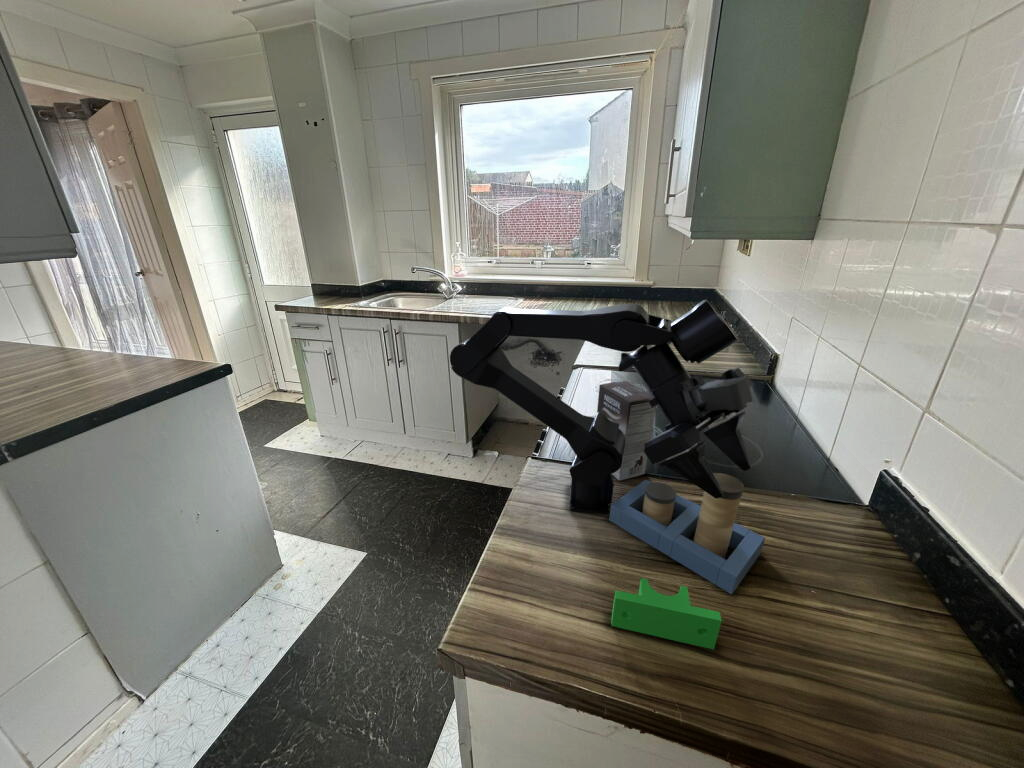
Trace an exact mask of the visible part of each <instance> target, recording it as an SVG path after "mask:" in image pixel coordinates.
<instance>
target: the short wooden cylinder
mask: <svg viewBox="0 0 1024 768" xmlns="http://www.w3.org/2000/svg"><path fill="white" fill-rule="evenodd" d="M676 494H677V492H676V489H674V487H672V486H670V485H669V484H667V483H663V482H659V481H656V482H655V481H654V482H652V483H649V484H648V485H647V486H646V488H645V497H644V503H643V508H642V509H641V513H643V514H645V515H646V516H648V517H650V518H652V519H654V520H655V521H657V522H659V523H661V524H663V525H664V526H666V527H668V526H669V525H670V524H671V523H672V518H673V517H672V513H673V508H674V503H675V499H676Z"/></svg>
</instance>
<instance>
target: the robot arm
mask: <svg viewBox="0 0 1024 768" xmlns="http://www.w3.org/2000/svg"><path fill="white" fill-rule="evenodd" d="M510 337H521V338H522V337H523V338H524V337H526V338H540V339H541V338H543V339H561V340H576V341H577V340H580V341H584V342H589V343H591V344H593V345H596V346H598V347H600V348H605V349H610V350H613V351H618V352H621V354H620V360H619V364H618V367H617V370H618V372H627V371H630V370H631V369H633V368H634V370H635V371H636V373H637V375H638V376H639V378H640V379H641V381H642V383H643V384H644V386H645V387H646V389H647V390H648V393H649V394H651V395H652V396H653V399H652V400H650V401H648V402H649V403H650V405H651V407H654V406H656V407H657V406H658V407H659V409H660V410H661V413H662V414H663V415H664V417H665V418H666V420H667V421H668V424H666V425H665V426H664V429H665V431H663V432H661V433H658V434H657V435H656V436H654V437H651V438H650V440H649V441H648V442H646V443H645V447H644V453H645V454H646V456H647V460H648V461H649V463H650V464H651V465H655V464H658V466H659V467H661V468H663V467H666V468H668V469H670V471H672V472H674V473H676V474H678V475H680V476H681V477H683V478H685V479H686V480H687V481H689V482H690V483H692V484H693V485H695V486H696V487H698V488H699V489H701V490H702V491H703V492H704V491H705V492H707V493H708V494H710V495H711V496H712V497H714V498H716V499H717V498H720V497H722V496H723V492H722V490H721V488H720V486H719V483H718V482H717V480H716V478H715V476H714V474H713V473H714V472H713V471H712V469H711V467H710V465H709V463H708V461H707V459H706V457H705V452H706V446H707V441H706V440H703V441H702V442H700V441H701V435H700V434H701V433H700V432H702V434H703V435H704V436H706V438H707V439H709V441H710V442H712V444H713V445H715V446H716V447H717V448H718V449H719V450H720V452H722V454H724V455H725V456H726V457H727V458H728V459H729V460H730V461H731V462H733V463H734V464H735V465H736V466H737V467H738V468H740V469H741V471H744V472H747V471H749V470H750V469H752V465H751V462H750V458H749V455H748V453H747V448H746V445H745V442H744V439H743V435H742V430H741V427H742V426H741V425H742V423H743V419H744V417H745V415H746V411H745V410H744V409H745V408H747V407H748V405H747V404H748V403H752V402H754V398H753V395H752V391H751V388H752V387H753V386H754V381H753V380H751V379H750V378H749V375H748V374H745V373H744V372H743V370H741V368H739V367H734V368H730V369H729V368H728V369H726V370H725V371H723V372H722V373H721V377H720V379H715V380H713V381H707V382H706V381H704V379H703V378H702V376H701V375H698V374H694V375H692V376H691V375H690V373H689V372H688V371H687V369H686V367H685V366H684V364H683V363H682V361H681V360H680V359H679V357H678V355H680V357H681V358H682V359H683V360H684V362H686V363H688V362H690V363H691V364H694V363H697V364H699V365H700V364H701V363H703V362H705V361H706V360H708V359H709V358H712V357H713V356H715V355H716V354H718V353H721V351H724V350H725V349H727V348H728V347H731V346H732V345H733V344H735V343H736V342H737V343H738V342H739V339H738V337H737V336H736V334H735V333H734V331H733V330H732V329H731V328H730V326H729V324H728V323H727V322H726V320H725V319H724V317H723V316H722V315H721V314H718V312H717V311H716V309H715V308H714V307H713V306H712V305H711V304H710V302H709V301H708V299H703V300H701V301H700V302H699V303H697V304H696V305H695V306H694V307H693V308H692V309H690V310H689V311H687V312H686V313H684V314H683V315H681V316H680V317H678V318H676V320H674V321H672V320H671V319H669V318H665V317H660V316H657V315H654V314H650V313H648V311H647V310H646V309H645V308H644V307H643V306H641V305H640V304H637V303H633V302H630V303H623V304H616V305H609V306H603V307H600V308H595V309H589V310H565V309H534V308H532V309H531V308H514V307H511V306H508V307H504V308H502V309H500V310H497V311H496V312H494V313H493V314H492V315H491V316H490V319H488V320H487V321H486V323H485V324H483V326H482V327H480V328H479V329H478V330H477V331H476V332H475V333H474V334H473V335H472V336H471V337H469V338H468V339H466V340H464V341H463V342H460V343H459V344H457V345H456V346H454V347H453V348H452V350H451V351H450V355H449V362H450V366H451V367H450V368H451V370H452V372H453V373H454V374H456V376H458V377H459V378H462V379H463V380H465V381H467V382H470V383H471V384H473V385H476V386H480V387H486V388H490V389H494V390H495V391H497V392H499V393H500V394H502V395H503V397H506V399H509V400H510V401H511V402H513V403H514V404H515V405H517V406H518V407H520V408H521V409H522V410H524V411H525V412H527V413H528V414H530V415H531V416H532V417H534V418H535V419H536V420H538V421H540V422H541V423H542V424H543V425H545V426H547V427H548V428H549V429H551V430H552V431H553V432H555V433H556V434H558V435H559V436H560V437H562V438H563V439H565V441H567V443H568V445H569V446H570V448H571V450H572V452H573V453H574V458H573V460H572V462H571V465H570V468H569V469H568V471H569V474H570V485H569V496H568V497H569V499H568V509H569V510H570V511H574V512H584V513H593V514H602V515H609V514H610V505H612V504H613V503H612V502H613V495H614V487H615V484H614V483H615V482H614V475H612V473H615V472H616V471H617V470H619V468H620V467H621V465H622V460H623V455H624V449H625V444H626V440H625V435H624V433H623V432H622V431H621V430H620V429H619V424H618V423H614V422H612V421H610V420H609V419H608V418H607V417H606V416H605V415H604V414H602V413H601V412H597V411H596V414H595V416H588V415H584V414H581V413H580V412H578V411H577V410H576V409H574V408H573V407H572V406H571V405H569V404H567V403H566V402H564V401H563V400H561V398H559V397H557V396H556V395H555V394H553V393H551V392H550V391H549V390H547V389H546V388H544V387H543V386H542V385H540V384H539V383H537V381H534V380H533V379H531V378H530V376H527V375H526V374H525V373H523V372H521V370H519V369H517V368H516V367H514V366H513V365H512V364H511V362H510V361H509V359H508V357H507V355H506V354H505V352H504V350H502V348H501V347H502V345H503V344H504V343H505V342H506V341H507V340H508V339H509V338H510ZM670 344H672V345H673V347H674V348H675V350H676V351H677V353H678V355H677V354H676V353H675V351H674V350H673V348H672V346H670ZM630 352H631V353H630ZM743 410H744V411H743ZM706 428H707V429H706Z"/></svg>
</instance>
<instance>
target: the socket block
mask: <svg viewBox="0 0 1024 768" xmlns="http://www.w3.org/2000/svg"><path fill="white" fill-rule="evenodd" d="M649 483H653V482H652V481H650V480H648V479H644V480H643V481H642V482H640V483H639V484H638V485H636V486H635V487H633V488H632V489H631V490H630V491H628V492H627V493H625V494H623V496H621V497H620V498H618V499H617V500H616V501H614V502H613V503H611V504H610V508H609V517H608V520H609V522H611V523H613V524H614V525H616V526H618V527H619V528H621V529H623V530H625V532H628V533H629V534H631V535H633V536H634V537H636V538H637V539H639V540H641V541H642V542H644V543H645V544H648V545H649V546H651V547H652V548H654V549H655V550H658V551H659V552H661V553H663V554H664V555H665V556H667V557H669V558H670V559H672V560H674V561H676V563H678V564H680V565H682V566H684V567H685V568H687V569H689V570H690V571H692V572H693V573H695V574H697V575H699V576H700V577H702V578H703V579H705V580H707V581H709V582H710V583H712V584H713V585H716V586H717V587H718V588H720V589H721V590H723V591H725V592H726V593H728V594H730V595H733V593H734V592H735V591H736V590H737V588H738V587H739V585H740V584H741V582H742V581H743V579H744V578H745V577H746V575H747V574H748V572H749V571H750V569H751V568H752V567H753V565H754V564H755V562H756V561H757V559H758V558H759V557H760V555H761V553H762V550H763V547H764V543H765V541H766V537H765V536H763V535H761V534H759V533H757V532H755V531H753V530H751V529H749V528H746V527H744V526H742V525H740V524H739V523H737V522H735V523H734V527H733V531H732V535H731V538H730V542H729V546H728V548H731V550H733V551H732V553H731V554H730V555H729V557H728V558H727V559H726V558H725V559H724V558H722V557H720V556H718V555H716V554H715V553H713V552H711V551H709V550H707V549H706V548H704V547H702V546H700V545H698V544H697V543H695V542H693V541H694V540H692V539H690V537H691V536H692V535H693V534H695V531H696V527H697V522H698V518H699V513H700V508H701V505H699V504H697V503H696V502H693V501H692V500H691V501H690V500H689V499H687V498H685V497H683V496H681V495H679V494H677V493H676V499H675V503H674V508H673V513H672V518H674V519H673V521H671V524H670V525H669V526H668V527H666V526H664V525H663V524H661V523H659V522H657V521H655V520H654V519H652V518H650V517H648V516H646V515H645V514H643V513H642V510H643V503H644V497H645V488H646V486H647V485H648V484H649Z"/></svg>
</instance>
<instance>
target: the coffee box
mask: <svg viewBox="0 0 1024 768" xmlns="http://www.w3.org/2000/svg"><path fill="white" fill-rule="evenodd" d="M598 387H599V388H598V397H597V409H596V413H597V412H601V413H602V414H604V415H605V416H606V417H607V418H608V419H609V420H610V421H612V422H614V423H618V424H619V429H620V430H621V431H622V432H623V433H624V435H625V440H626V444H625V449H624V455H623V460H622V465H621V467H620V468H619V470H617V471H616V472H615V473H612V474H611V475H612V476H613V477H615V479H616V480H618V481H619V482H620V481H624V480H627V479H631V478H635V477H639V476H643V475H645V474H646V468H647V462H648V458H647V456H646V454H645V453H644V447H645V443H646V442H648V441H649V440H651V439H652V432H653V426H654V420H655V413H656V409H657V405H656V406H654V407H651V405H650V403H649V402H648V401H650V400H652V399H653V396H652V395H651V393H650V392H648V391H646V390H643V388H640V387H638V386H637V385H635V384H632V383H631V382H629V381H627V380H622V381H613V382H606V383H602V384H599V385H598Z"/></svg>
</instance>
